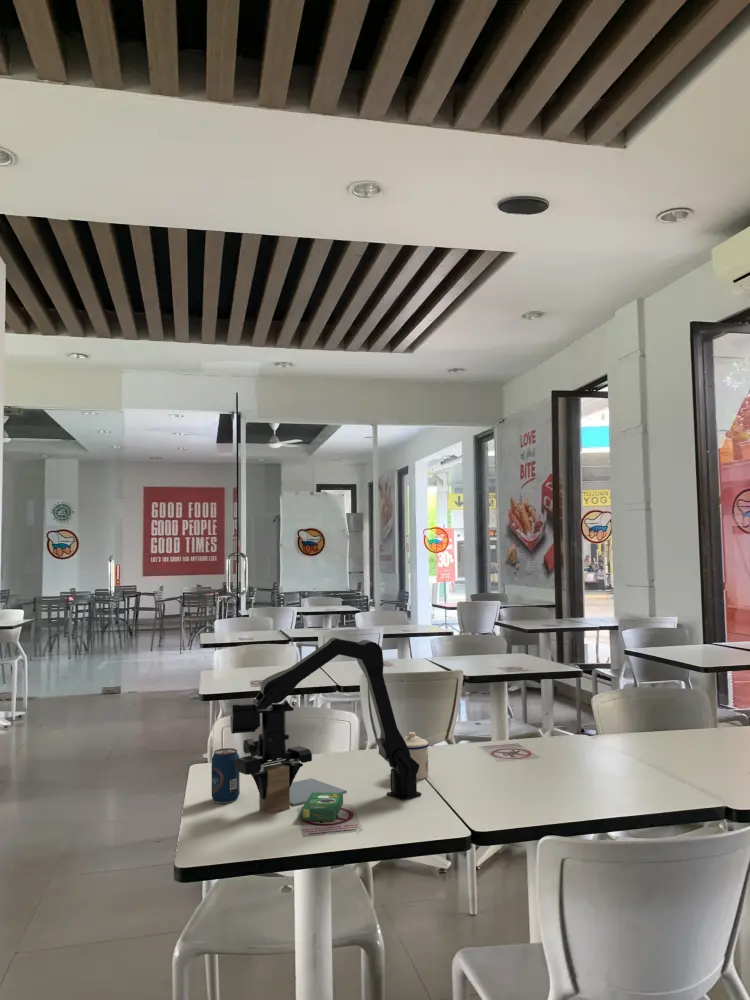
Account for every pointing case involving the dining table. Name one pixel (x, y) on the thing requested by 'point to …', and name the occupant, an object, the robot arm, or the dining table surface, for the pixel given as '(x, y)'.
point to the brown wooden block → (276, 789)
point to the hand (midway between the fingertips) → (274, 796)
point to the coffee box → (322, 806)
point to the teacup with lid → (418, 753)
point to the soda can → (225, 776)
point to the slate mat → (309, 790)
